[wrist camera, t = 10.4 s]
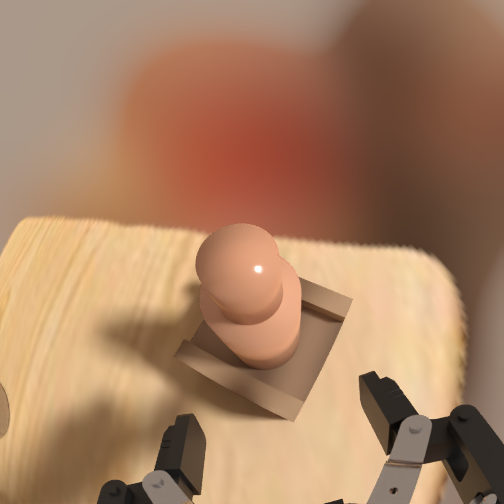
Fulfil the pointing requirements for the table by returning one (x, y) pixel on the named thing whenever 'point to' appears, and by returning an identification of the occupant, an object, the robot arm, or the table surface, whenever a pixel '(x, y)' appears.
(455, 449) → the robot arm
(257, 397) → the pedestal
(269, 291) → the peg doll
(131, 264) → the table surface
